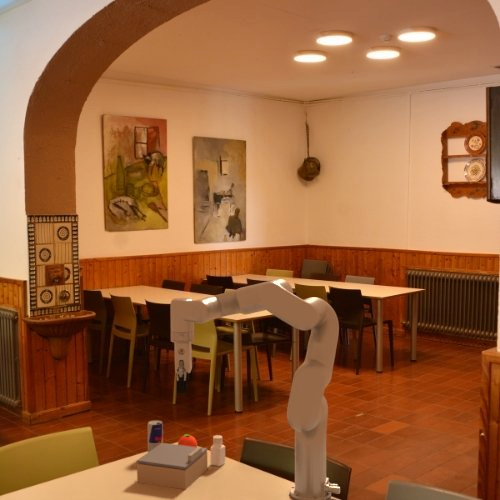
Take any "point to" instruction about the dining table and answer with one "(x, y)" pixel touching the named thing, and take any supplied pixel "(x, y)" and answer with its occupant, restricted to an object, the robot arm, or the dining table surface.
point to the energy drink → (154, 434)
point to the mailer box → (171, 474)
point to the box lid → (172, 456)
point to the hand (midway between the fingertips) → (182, 388)
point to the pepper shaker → (217, 451)
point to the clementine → (188, 441)
